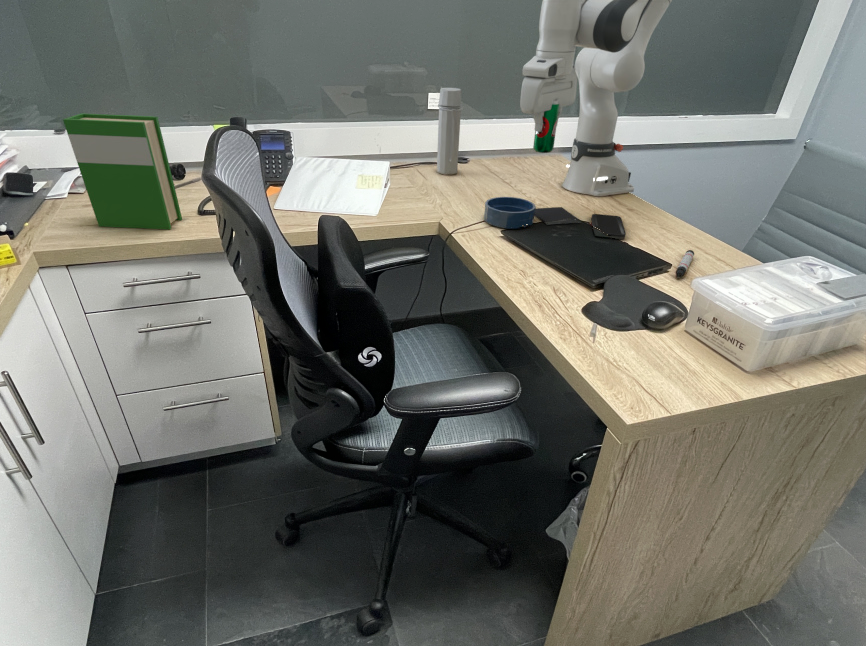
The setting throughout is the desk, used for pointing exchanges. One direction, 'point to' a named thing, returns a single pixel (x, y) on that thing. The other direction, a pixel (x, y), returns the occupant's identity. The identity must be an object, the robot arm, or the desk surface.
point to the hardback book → (124, 170)
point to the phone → (609, 225)
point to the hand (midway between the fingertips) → (545, 129)
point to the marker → (684, 263)
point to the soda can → (547, 130)
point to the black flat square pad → (553, 214)
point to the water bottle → (448, 130)
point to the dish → (509, 212)
